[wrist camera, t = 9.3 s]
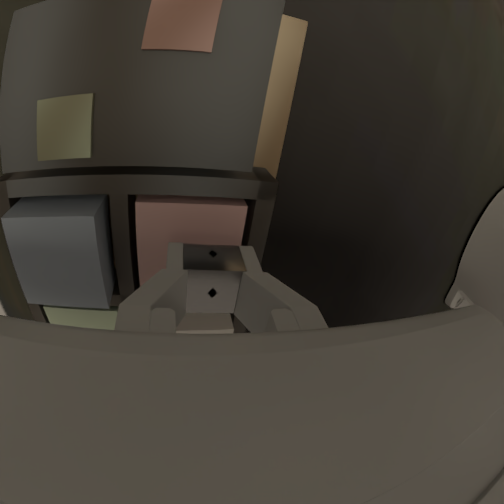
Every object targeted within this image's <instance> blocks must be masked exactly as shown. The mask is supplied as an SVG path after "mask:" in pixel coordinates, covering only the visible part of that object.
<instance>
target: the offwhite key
mask: <svg viewBox="0 0 504 504" xmlns="http://www.w3.org/2000/svg"><path fill="white" fill-rule="evenodd" d="M233 332H234V327H233V323H232V319H231V315H230V313H186V315H185V316H184V317H183V319H182V320H181V322H180V323H179V324H178V326H177V327H176V333H188V334H226V333H233Z"/></svg>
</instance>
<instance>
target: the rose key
mask: <svg viewBox="0 0 504 504" xmlns="http://www.w3.org/2000/svg"><path fill="white" fill-rule="evenodd" d="M247 208H248V206H247V204H246V202H245V200H244V199H240V198H224V197H205V196H182V195H143V194H138V197H137V199H136V202H135V212H136V239H137V256H138V269H139V280H140V287H141V286H142V285H143V284H144V283H145V282H146V281H148V280H149V279H150V278H151V277H153V276H154V275H155V274H156V273H157V272H159V271H160V270H161V269H166V262H167V250H168V243H169V242H182V243H196V244H210V245H234V246H241V242H242V237H243V231H244V225H245V220H246V214H247Z"/></svg>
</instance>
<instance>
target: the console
mask: <svg viewBox="0 0 504 504" xmlns="http://www.w3.org/2000/svg"><path fill="white" fill-rule="evenodd" d="M284 5H285V0H46V1H43V2H40V3H37V4H34V5H31V6H28V7H25V8H22V9H19V10H17V11H14V14H13V18H12V22H11V26H10V30H9V35H8V40H7V45H6V50H5V56H4V63H3V71H2V81H1V93H0V149H1V162H2V172H3V174H4V173H6V174H4V175H3V176H2V177H0V219H1V218H2V217H3V216H4V214H5V213H6V212H7V211H8V210H9V209H10V208H11V207H13V206H14V205H15V204H16V203H17V202H18V201H19V200H20V199H21V198H22V197H33V196H54V195H90V194H107V197H108V214H109V227H110V237H111V247H112V255H113V263H114V270H115V277H116V280H115V284H114V288H113V293H112V297H111V302H110V306H119V304H120V303H122V302H123V301H124V300H125V299H126V298H128V297H129V296H130V295H131V294H132V293H133V292H135V291H136V290H137V289H138V288H139V287H140V280H139V269H138V256H137V239H136V212H135V202H136V199H137V197H138V194H143V195H182V196H205V197H224V198H240V199H244V200H245V202H246V204H247V206H248V208H247V214H246V220H245V225H244V231H243V237H242V242H241V246H252V247H253V248H254V251H255V253H256V256H257V258H258V261H259V263H260V266H261V262H262V257H263V253H264V249H265V244H266V240H267V235H268V231H269V226H270V222H271V217H272V213H273V208H274V204H275V199H276V195H277V190H278V186H279V182H278V181H277V180H276V175H277V170H278V166H279V161H280V156H281V152H282V147H283V142H284V137H285V132H286V128H287V123H288V118H289V113H290V108H291V104H292V99H293V94H294V89H295V84H296V79H297V74H298V69H299V64H300V59H301V55H302V50H303V45H304V40H305V35H306V30H307V24H308V22H307V21H304V20H301V19H297V18H294V17H290V16H287V15H283V9H284ZM1 223H2V221H1ZM2 227H3V225H2ZM3 231H4V229H3ZM4 235H5V233H4ZM5 239H6V237H5ZM6 243H7V241H6ZM7 246H8V245H7ZM8 250H9V248H8ZM9 253H10V252H9ZM10 256H11V255H10ZM11 260H12V258H11ZM12 263H13V261H12ZM13 266H14V265H13ZM14 269H15V268H14ZM15 272H16V271H15ZM16 275H17V273H16ZM17 278H18V276H17ZM18 280H19V279H18ZM19 283H20V282H19ZM20 286H21V285H20ZM21 288H22V287H21ZM22 291H23V290H22ZM23 293H24V292H23ZM24 296H25V295H24ZM25 298H26V297H25ZM26 301H27V300H26ZM27 303H28V302H27ZM28 306H29V308H30V310H31V313H32V315H33V317H34V319H35V321H37V322H44V323H50V322H49V320H48V317H47V315H46V313H45V310H44V308H43V306H44V305H41V304H31V303H28ZM230 315H231V319H232V323H233V327H234V332H233V333H245V331H246V327H245V326H244V325H243V324H242V322H241V321H240V320H239V319H238V318H237V317H236V316H235V315H234V313H230Z"/></svg>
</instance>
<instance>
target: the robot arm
mask: <svg viewBox="0 0 504 504" xmlns="http://www.w3.org/2000/svg"><path fill="white" fill-rule="evenodd" d="M445 303H446V304H447V305H448V306H449V307H450V308H453V309H452V310H447V311H442V312H437V313H432V314H426V315H421V316H415V317H409V318H403V319H396V320H390V321H383V322H375V323H368V324H360V325H351V326H342V327H332V328H328V326H327V324H326V322H325V320H324V318H323V316H322V315H321V313H320V311H319V309H318V307H317V306H316V305H314V304H313V303H311V302H310V301H308V300H307V299H305V298H304V297H302V296H301V295H300V294H298V293H297V292H295V291H294V290H292V289H291V288H289V287H288V286H286V285H285V284H283V283H282V282H280V281H279V280H277V279H276V278H275V277H273V276H272V275H270V274H269V273H267V272H263V271H262V268H261V266H260V263H259V261H258V258H257V256H256V253H255V251H254V248H253V247H252V246H234V245H210V244H196V243H182V242H169V243H168V250H167V262H166V269H161V270H160V271H159V272H157V273H156V274H155V275H154V276H153V277H151V278H150V279H149V280H148V281H146V282H145V283H144V284H143V285H142V286H141V287H139V288H138V289H137V290H136V291H135V292H133V293H132V294H131V295H130V296H129V297H128V298H126V299H125V300H124V301H123V302H122V303H120V304H119V308H118V313H117V318H116V323H115V329H114V330H105V329H94V328H84V327H75V326H66V325H58V324H51V323H44V322H37V321H31V320H25V319H19V318H13V317H8V316H2V315H0V504H504V188H503V189H502V190H501V191H500V192H499V193H498V194H497V195H496V197H495V198H494V199H493V200H492V202H491V203H490V204H489V206H488V207H487V209H486V210H485V212H484V214H483V215H482V217H481V218H480V220H479V222H478V224H477V226H476V227H475V229H474V231H473V233H472V235H471V237H470V239H469V242H468V244H467V246H466V248H465V251H464V253H463V256H462V258H461V261H460V264H459V268H458V272H457V276H456V279H455V282H454V284H453V286H452V287H451V289H450V291H449V293H448V295H447V297H446V299H445ZM186 313H234V315H235V316H236V317H237V318H238V319H239V320H240V321H241V322H242V324H243V325H244V326H245V327H246V328H247V329H248V330H249V331H250V332H251V333H226V334H188V333H176V327H177V326H178V324H179V323H180V322H181V320H182V319H183V317H184V316H185V315H186Z"/></svg>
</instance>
